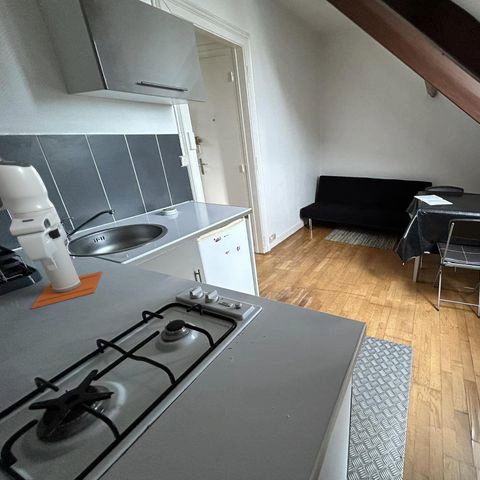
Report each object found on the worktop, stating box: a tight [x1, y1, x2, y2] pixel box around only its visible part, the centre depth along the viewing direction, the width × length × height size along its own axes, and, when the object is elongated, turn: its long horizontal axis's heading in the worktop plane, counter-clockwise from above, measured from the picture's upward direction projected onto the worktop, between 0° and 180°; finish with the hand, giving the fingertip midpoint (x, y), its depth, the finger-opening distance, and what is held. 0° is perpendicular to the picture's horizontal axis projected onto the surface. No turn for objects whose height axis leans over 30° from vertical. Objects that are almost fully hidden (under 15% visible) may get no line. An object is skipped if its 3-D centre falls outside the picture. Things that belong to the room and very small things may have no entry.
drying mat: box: [30, 270, 103, 310], centre depth 82 cm, size 14×16×1 cm
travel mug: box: [39, 228, 81, 293], centre depth 78 cm, size 6×7×20 cm
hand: (58, 263), depth 79 cm, fingers open, 8 cm apart
